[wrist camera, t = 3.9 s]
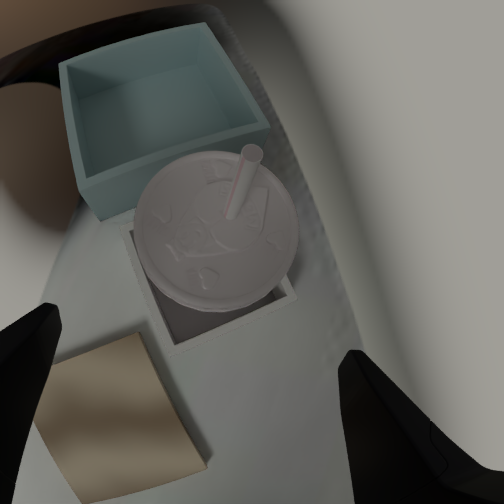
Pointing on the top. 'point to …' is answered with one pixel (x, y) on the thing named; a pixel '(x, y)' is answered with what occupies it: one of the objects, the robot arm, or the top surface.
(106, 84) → the bin
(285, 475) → the top surface
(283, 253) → the smoothie
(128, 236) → the grey tray
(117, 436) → the oak board
